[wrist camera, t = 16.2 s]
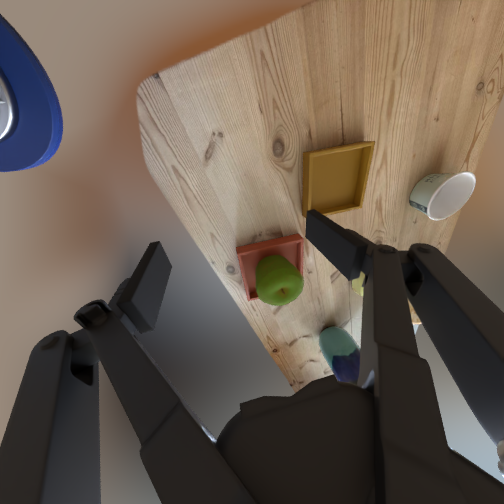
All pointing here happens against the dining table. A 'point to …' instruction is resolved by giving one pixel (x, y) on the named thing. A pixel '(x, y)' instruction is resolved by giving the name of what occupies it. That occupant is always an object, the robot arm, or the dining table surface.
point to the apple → (278, 280)
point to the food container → (442, 193)
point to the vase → (341, 353)
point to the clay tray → (257, 251)
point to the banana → (359, 284)
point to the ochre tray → (336, 177)
